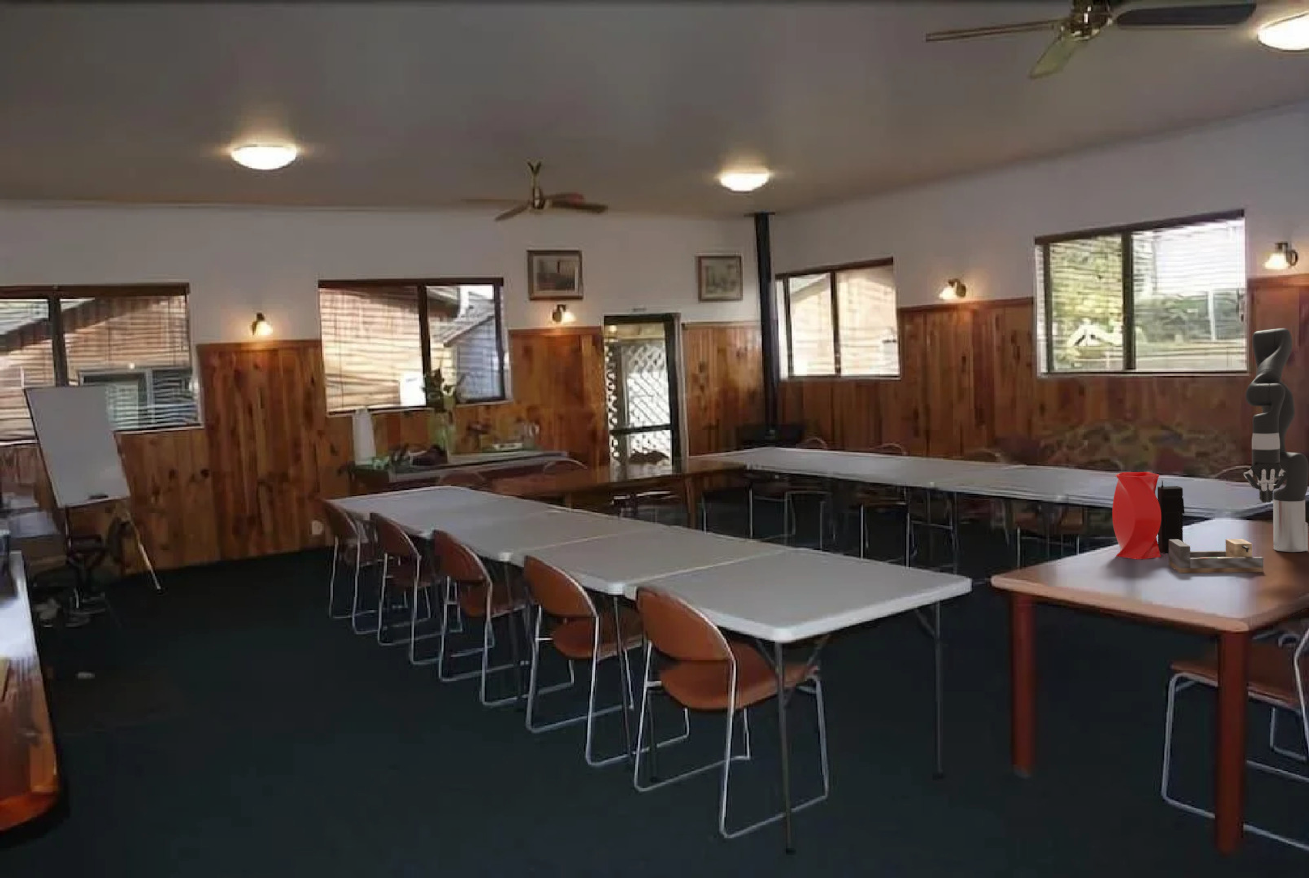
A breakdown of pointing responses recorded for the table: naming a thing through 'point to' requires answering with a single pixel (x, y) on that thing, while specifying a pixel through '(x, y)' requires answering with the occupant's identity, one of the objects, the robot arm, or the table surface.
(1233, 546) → the block
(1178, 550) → the grey piece
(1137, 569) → the table surface
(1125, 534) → the vase
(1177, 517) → the portable radio
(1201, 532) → the table surface
